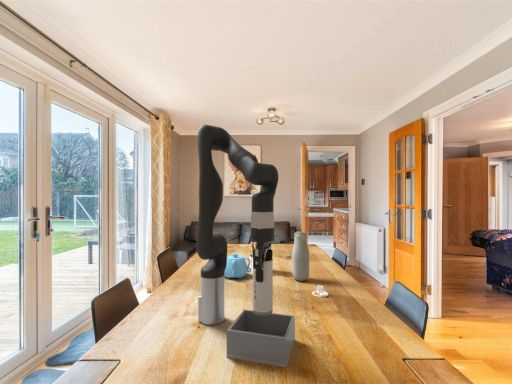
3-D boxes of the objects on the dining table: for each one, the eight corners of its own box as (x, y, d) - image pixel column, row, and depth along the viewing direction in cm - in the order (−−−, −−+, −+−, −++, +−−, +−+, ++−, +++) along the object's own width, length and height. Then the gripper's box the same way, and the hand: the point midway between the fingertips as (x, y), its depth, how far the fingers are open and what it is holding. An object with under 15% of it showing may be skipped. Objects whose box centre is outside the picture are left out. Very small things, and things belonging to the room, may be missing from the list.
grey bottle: (308, 278, 166) (308, 230, 166) (310, 283, 156) (310, 232, 156) (291, 277, 167) (291, 230, 167) (292, 282, 157) (292, 232, 157)
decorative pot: (253, 277, 168) (254, 254, 168) (230, 282, 158) (231, 257, 158) (238, 271, 181) (239, 250, 181) (216, 275, 171) (216, 253, 172)
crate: (226, 357, 84) (226, 330, 84) (244, 332, 99) (244, 309, 99) (286, 367, 79) (286, 338, 79) (294, 339, 94) (294, 315, 94)
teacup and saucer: (328, 298, 134) (328, 290, 134) (311, 297, 135) (311, 288, 135) (328, 292, 142) (328, 284, 142) (312, 291, 144) (312, 283, 144)
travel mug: (271, 307, 93) (271, 246, 93) (273, 316, 86) (273, 250, 87) (252, 307, 93) (252, 247, 93) (253, 316, 86) (253, 250, 86)
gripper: (257, 223, 98) (257, 272, 98) (244, 228, 84) (244, 284, 84) (278, 224, 96) (278, 273, 95) (268, 228, 82) (268, 286, 82)
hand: (262, 278), depth 90 cm, fingers closed on travel mug, 6 cm apart
